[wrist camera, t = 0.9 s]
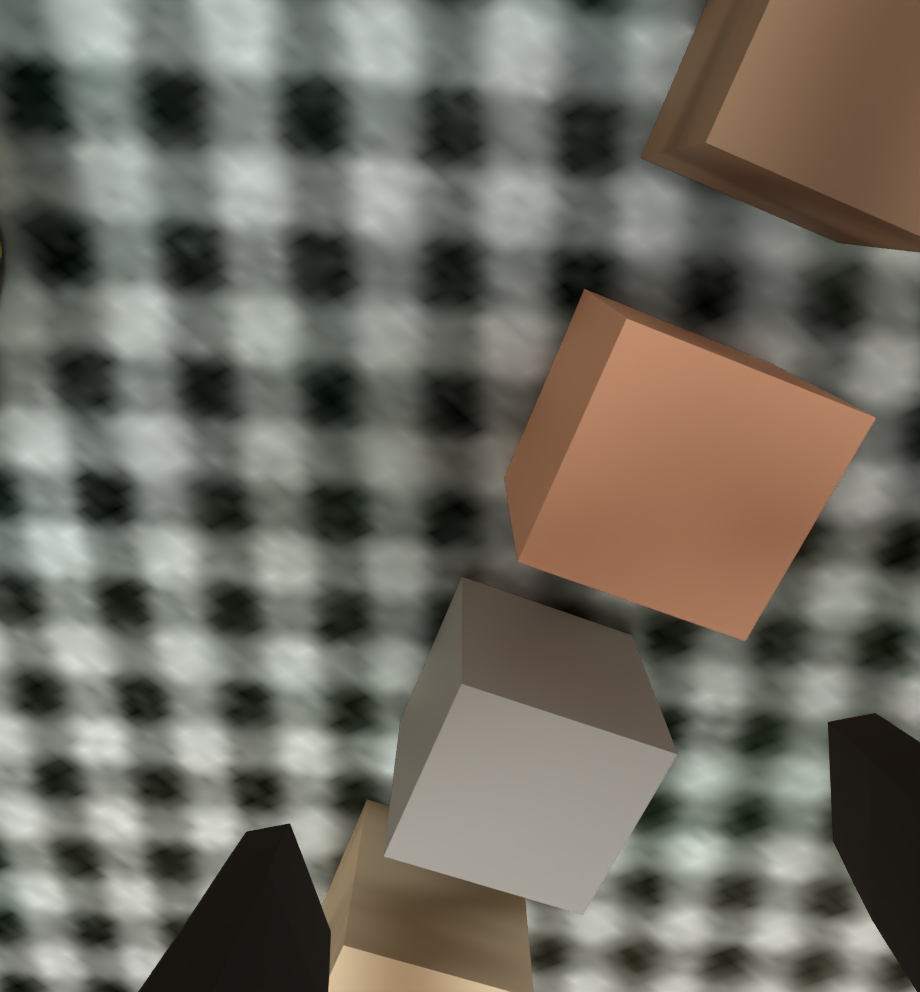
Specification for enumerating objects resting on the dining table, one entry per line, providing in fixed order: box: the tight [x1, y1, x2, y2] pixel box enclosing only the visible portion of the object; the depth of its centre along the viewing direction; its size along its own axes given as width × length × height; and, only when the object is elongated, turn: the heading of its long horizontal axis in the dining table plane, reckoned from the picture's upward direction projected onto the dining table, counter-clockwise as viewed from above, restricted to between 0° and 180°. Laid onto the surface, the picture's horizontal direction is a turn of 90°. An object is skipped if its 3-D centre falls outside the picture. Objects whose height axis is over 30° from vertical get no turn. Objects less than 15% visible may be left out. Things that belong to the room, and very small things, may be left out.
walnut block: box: [641, 0, 920, 252], centre depth 14 cm, size 5×5×5 cm
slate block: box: [384, 577, 678, 915], centre depth 20 cm, size 5×5×5 cm
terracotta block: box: [504, 289, 876, 641], centre depth 17 cm, size 5×5×5 cm
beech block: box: [322, 799, 533, 992], centre depth 22 cm, size 5×5×5 cm
